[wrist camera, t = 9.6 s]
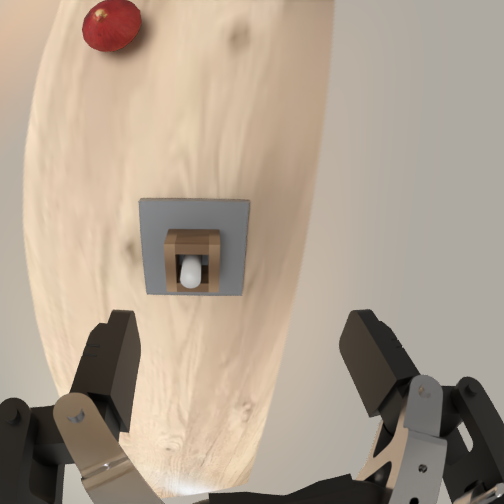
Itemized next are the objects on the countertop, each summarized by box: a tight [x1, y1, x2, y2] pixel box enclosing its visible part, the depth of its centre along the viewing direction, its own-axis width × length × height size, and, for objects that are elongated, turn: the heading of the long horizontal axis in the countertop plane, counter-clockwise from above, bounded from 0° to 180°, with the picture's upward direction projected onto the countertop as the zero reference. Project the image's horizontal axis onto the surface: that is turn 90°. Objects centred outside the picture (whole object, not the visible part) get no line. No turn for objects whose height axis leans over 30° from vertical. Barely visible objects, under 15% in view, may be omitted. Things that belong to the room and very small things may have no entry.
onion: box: [82, 0, 141, 52], centre depth 18 cm, size 6×6×8 cm
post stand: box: [139, 198, 249, 296], centre depth 31 cm, size 12×12×7 cm
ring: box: [164, 229, 220, 292], centre depth 31 cm, size 6×6×4 cm
